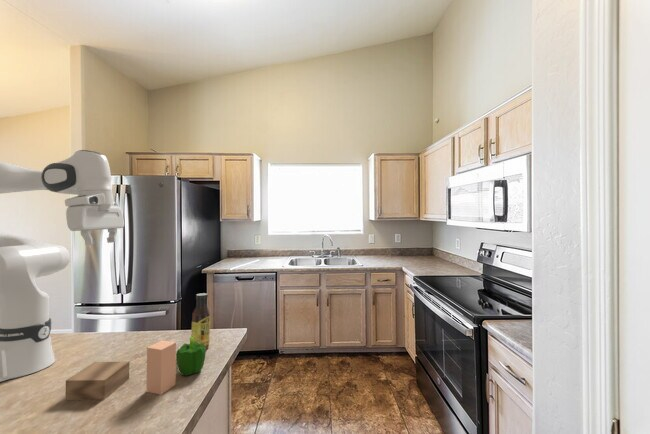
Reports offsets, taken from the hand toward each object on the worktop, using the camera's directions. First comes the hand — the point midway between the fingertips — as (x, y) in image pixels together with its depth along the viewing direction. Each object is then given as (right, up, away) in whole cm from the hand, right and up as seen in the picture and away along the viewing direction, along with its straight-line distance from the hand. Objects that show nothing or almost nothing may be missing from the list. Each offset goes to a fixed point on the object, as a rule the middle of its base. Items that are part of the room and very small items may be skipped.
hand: (101, 243), depth 93 cm
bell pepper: (+30, -40, -3) cm, 50 cm away
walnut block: (+9, -39, -12) cm, 42 cm away
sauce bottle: (+26, -40, +13) cm, 50 cm away
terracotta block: (+26, -39, -12) cm, 49 cm away
